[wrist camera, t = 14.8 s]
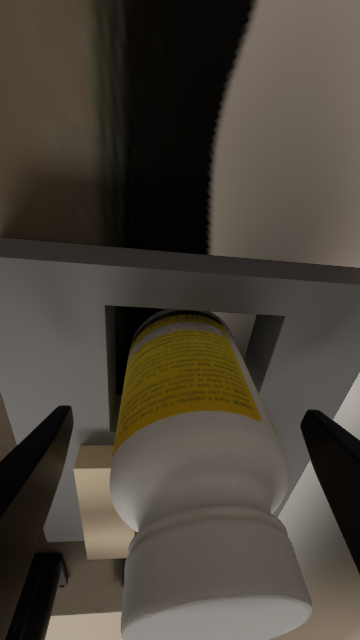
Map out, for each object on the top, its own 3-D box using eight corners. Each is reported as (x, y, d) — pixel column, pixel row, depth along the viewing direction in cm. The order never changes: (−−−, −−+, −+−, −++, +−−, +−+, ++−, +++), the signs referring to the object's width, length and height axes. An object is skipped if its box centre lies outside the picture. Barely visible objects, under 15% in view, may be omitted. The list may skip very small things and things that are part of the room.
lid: (231, 531, 19) (260, 672, 14) (91, 537, 18) (63, 692, 13) (267, 445, 14) (333, 608, 9) (80, 445, 13) (26, 633, 8)
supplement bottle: (107, 341, 13) (17, 643, 5) (195, 281, 12) (287, 544, 3) (171, 400, 16) (186, 673, 7) (249, 355, 14) (384, 619, 6)
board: (257, 497, 22) (268, 533, 20) (59, 502, 20) (47, 542, 18) (362, 268, 12) (406, 288, 10) (-1, 237, 10) (-43, 253, 8)
